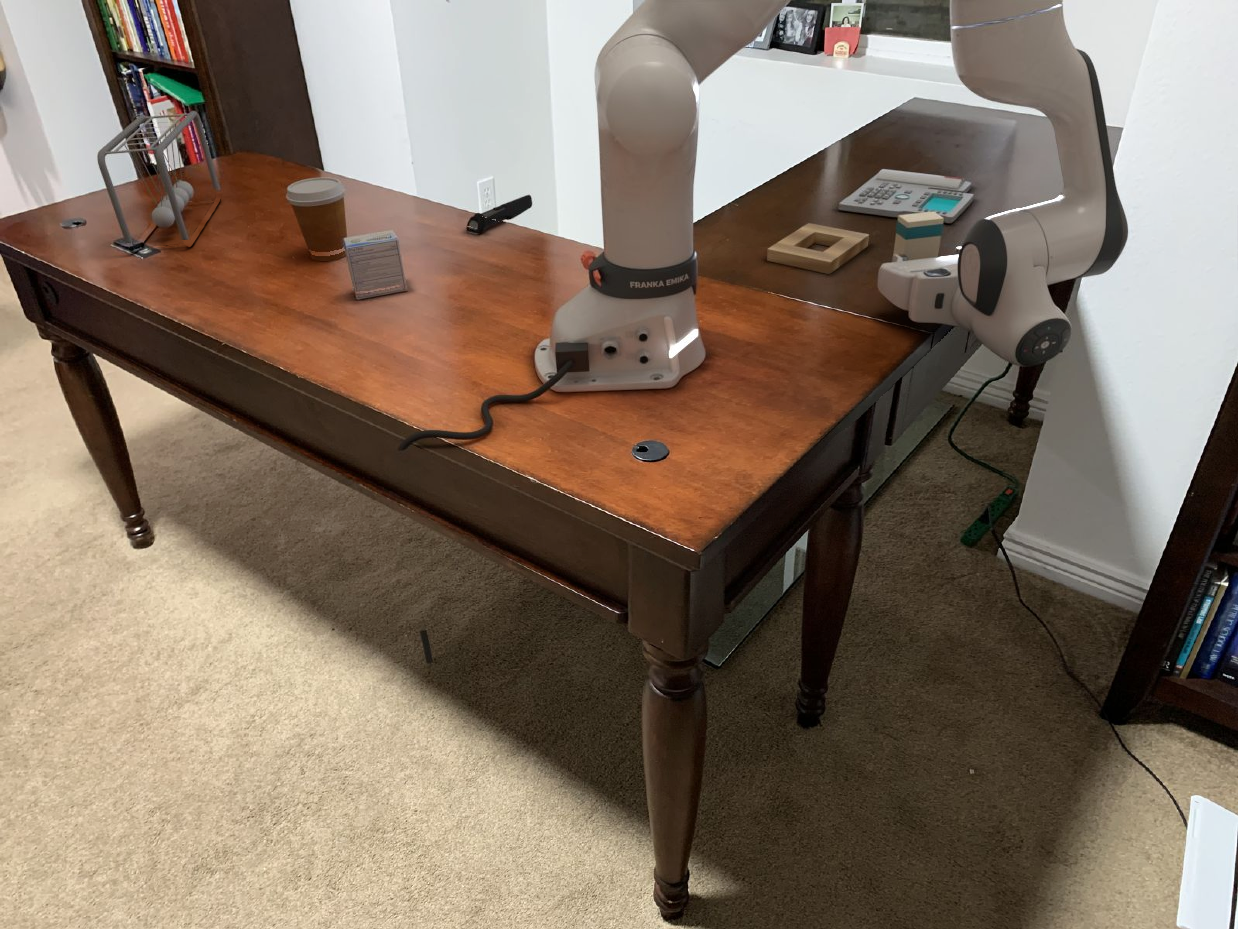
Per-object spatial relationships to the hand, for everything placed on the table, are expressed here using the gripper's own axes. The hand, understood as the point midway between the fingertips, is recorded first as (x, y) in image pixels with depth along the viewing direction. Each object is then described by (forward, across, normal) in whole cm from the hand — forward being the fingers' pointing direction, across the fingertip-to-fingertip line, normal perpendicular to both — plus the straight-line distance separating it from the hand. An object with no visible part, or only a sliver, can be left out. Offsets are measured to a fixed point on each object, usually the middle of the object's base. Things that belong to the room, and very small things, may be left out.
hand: (927, 255), depth 132 cm
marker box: (+4, 0, +6) cm, 7 cm away
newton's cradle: (+67, +118, +6) cm, 135 cm away
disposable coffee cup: (+42, +88, +6) cm, 98 cm away
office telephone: (+39, -17, +6) cm, 43 cm away
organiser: (+19, +9, +6) cm, 21 cm away
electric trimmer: (+50, +58, +6) cm, 77 cm away
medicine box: (+24, +79, +6) cm, 83 cm away
